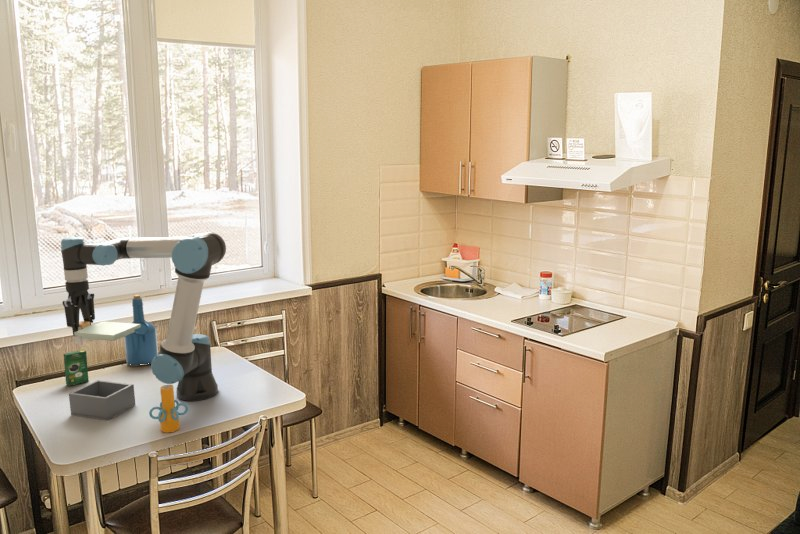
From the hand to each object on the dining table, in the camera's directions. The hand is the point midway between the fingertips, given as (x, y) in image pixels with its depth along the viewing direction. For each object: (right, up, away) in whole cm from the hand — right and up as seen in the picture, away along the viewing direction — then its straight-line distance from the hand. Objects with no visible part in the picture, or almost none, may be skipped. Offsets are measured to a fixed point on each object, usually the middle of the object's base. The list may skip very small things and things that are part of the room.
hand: (83, 342), depth 245 cm
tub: (+10, -24, -6) cm, 27 cm away
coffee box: (-12, -19, +21) cm, 31 cm away
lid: (+8, +3, -3) cm, 10 cm away
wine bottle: (+4, -14, +46) cm, 48 cm away
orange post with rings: (+40, -27, -22) cm, 53 cm away
